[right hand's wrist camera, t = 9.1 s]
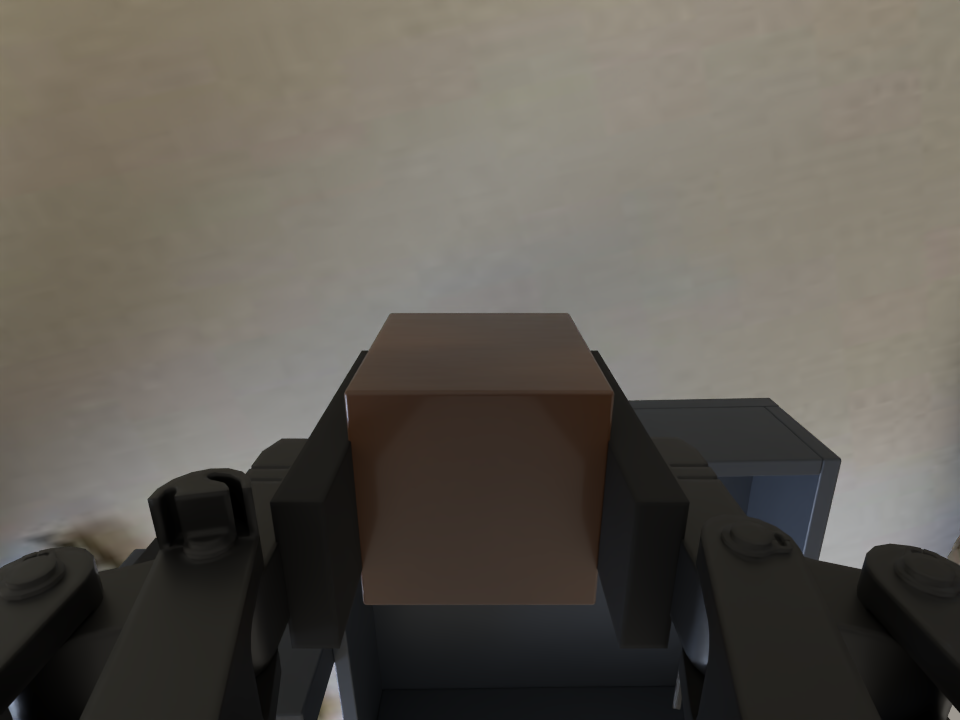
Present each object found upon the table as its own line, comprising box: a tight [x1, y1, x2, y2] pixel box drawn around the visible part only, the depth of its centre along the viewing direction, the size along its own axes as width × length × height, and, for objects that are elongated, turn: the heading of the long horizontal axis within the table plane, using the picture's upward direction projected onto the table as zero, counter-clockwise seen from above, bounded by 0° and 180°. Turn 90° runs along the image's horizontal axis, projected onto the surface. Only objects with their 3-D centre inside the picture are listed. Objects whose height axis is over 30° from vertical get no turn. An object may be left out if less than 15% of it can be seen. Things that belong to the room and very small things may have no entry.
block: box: [344, 313, 614, 605], centre depth 12 cm, size 4×4×5 cm
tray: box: [119, 398, 841, 720], centre depth 21 cm, size 27×15×8 cm, turn 91°
